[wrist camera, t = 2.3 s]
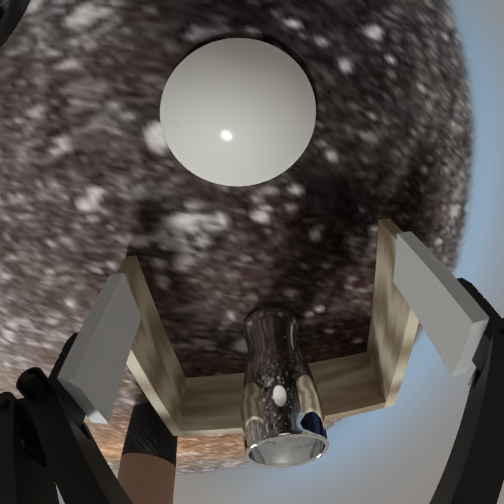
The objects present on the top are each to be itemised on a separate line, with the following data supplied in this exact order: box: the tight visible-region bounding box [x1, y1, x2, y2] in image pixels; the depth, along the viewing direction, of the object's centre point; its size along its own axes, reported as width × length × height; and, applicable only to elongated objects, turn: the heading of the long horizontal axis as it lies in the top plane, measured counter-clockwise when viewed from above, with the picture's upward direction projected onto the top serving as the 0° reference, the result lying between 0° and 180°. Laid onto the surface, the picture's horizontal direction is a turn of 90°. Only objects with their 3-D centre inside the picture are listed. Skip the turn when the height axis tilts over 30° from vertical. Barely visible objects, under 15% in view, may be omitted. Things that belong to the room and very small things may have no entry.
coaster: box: [160, 38, 316, 186], centre depth 23 cm, size 12×12×1 cm
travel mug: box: [117, 403, 177, 504], centre depth 34 cm, size 8×8×20 cm
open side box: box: [117, 218, 419, 436], centre depth 30 cm, size 19×25×8 cm
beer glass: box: [240, 306, 329, 468], centre depth 28 cm, size 7×7×15 cm
